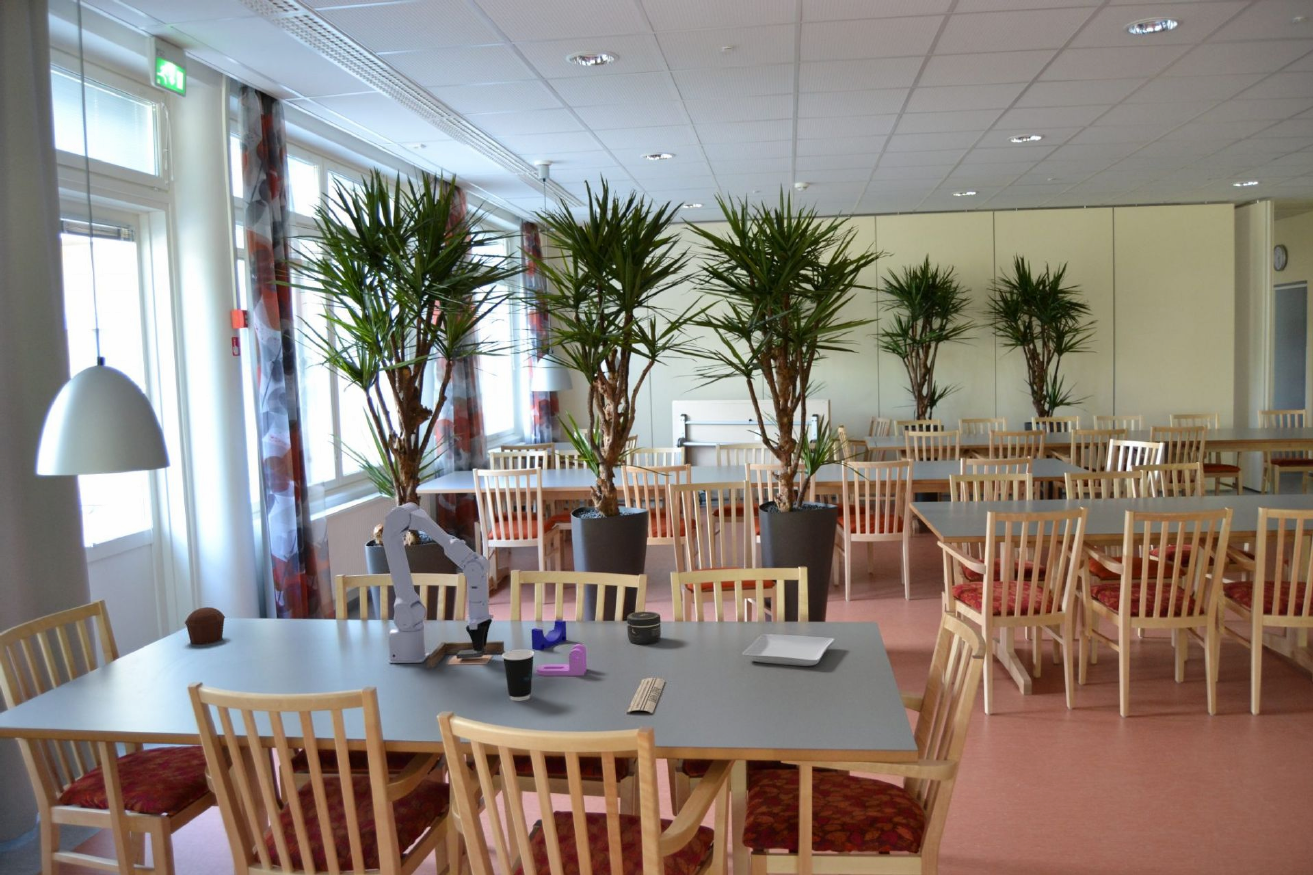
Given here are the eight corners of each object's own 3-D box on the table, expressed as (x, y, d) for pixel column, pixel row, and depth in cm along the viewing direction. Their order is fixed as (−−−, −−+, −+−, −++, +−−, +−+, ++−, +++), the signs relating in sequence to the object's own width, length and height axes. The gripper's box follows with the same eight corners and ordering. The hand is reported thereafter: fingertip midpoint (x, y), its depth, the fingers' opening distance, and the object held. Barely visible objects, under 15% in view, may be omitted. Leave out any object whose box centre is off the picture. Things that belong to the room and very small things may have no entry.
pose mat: (447, 664, 270) (447, 664, 270) (454, 656, 278) (454, 655, 278) (486, 664, 269) (486, 663, 269) (492, 655, 277) (492, 655, 277)
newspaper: (641, 684, 250) (641, 677, 250) (669, 684, 249) (669, 677, 249) (626, 716, 227) (626, 709, 227) (657, 717, 226) (656, 709, 226)
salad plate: (741, 665, 263) (740, 652, 263) (762, 643, 282) (762, 632, 282) (818, 672, 255) (818, 659, 255) (835, 649, 274) (835, 637, 274)
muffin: (201, 635, 310) (199, 604, 309) (233, 635, 309) (231, 604, 308) (178, 645, 298) (175, 613, 298) (211, 645, 297) (209, 613, 296)
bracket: (586, 669, 263) (585, 643, 262) (583, 675, 257) (582, 649, 257) (539, 669, 264) (538, 644, 263) (534, 676, 258) (533, 650, 258)
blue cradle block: (554, 638, 294) (554, 619, 293) (566, 640, 291) (565, 621, 291) (528, 649, 284) (527, 628, 283) (540, 651, 281) (539, 630, 281)
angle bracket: (484, 653, 275) (483, 632, 275) (481, 657, 271) (479, 636, 271) (460, 654, 276) (458, 633, 275) (456, 658, 272) (455, 637, 271)
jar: (620, 642, 287) (619, 616, 287) (640, 634, 295) (639, 609, 295) (648, 647, 281) (647, 621, 281) (667, 638, 290) (667, 613, 289)
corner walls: (428, 668, 267) (427, 657, 267) (442, 652, 282) (441, 642, 282) (493, 667, 266) (492, 656, 266) (504, 651, 281) (503, 641, 281)
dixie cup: (537, 701, 238) (536, 656, 237) (505, 704, 236) (503, 659, 235) (534, 690, 246) (532, 647, 245) (502, 694, 244) (500, 650, 243)
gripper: (486, 606, 265) (488, 655, 266) (497, 594, 279) (499, 640, 280) (460, 606, 265) (463, 655, 266) (473, 594, 280) (475, 641, 281)
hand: (480, 648), depth 273 cm, fingers closed on angle bracket, 4 cm apart
